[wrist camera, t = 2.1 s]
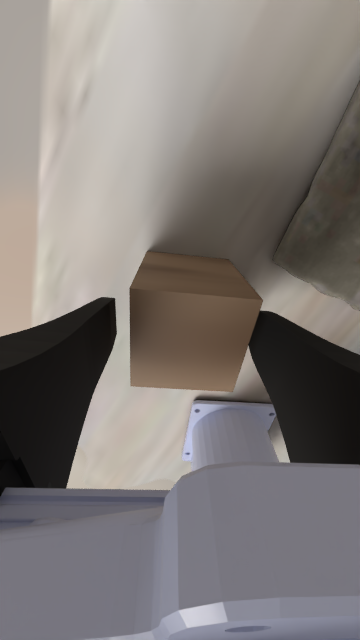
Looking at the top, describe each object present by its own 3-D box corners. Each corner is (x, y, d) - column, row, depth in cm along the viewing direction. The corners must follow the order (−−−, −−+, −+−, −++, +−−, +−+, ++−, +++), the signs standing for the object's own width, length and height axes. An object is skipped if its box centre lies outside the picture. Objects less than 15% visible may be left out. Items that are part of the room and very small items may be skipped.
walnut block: (213, 327, 16) (232, 391, 11) (145, 321, 15) (130, 386, 10) (228, 259, 13) (263, 300, 8) (147, 250, 13) (129, 288, 8)
